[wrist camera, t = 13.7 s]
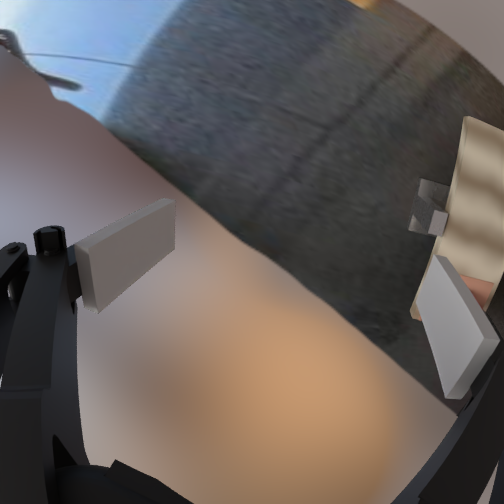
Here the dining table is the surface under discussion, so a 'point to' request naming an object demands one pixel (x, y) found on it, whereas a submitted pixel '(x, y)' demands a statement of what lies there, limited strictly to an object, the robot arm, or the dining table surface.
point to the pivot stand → (429, 208)
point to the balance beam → (475, 213)
